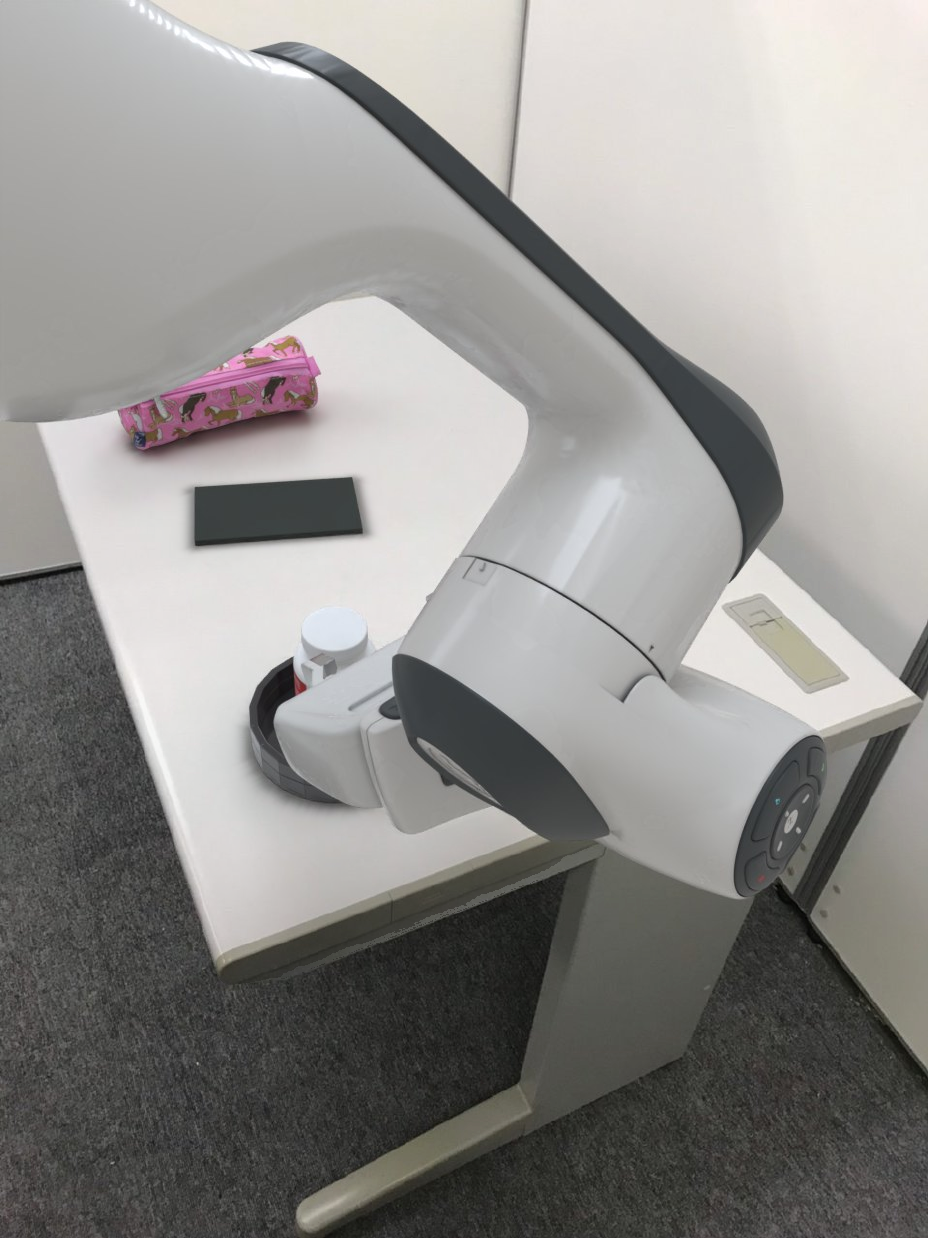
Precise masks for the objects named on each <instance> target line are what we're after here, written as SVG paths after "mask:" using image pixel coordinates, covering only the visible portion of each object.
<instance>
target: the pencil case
mask: <svg viewBox="0 0 928 1238" xmlns="http://www.w3.org/2000/svg"><path fill="white" fill-rule="evenodd" d="M320 375H322V372H321V369H320V368H319V366H318V364H317V362H316V360H315V357H314V355H311V356H308V355H307V352H306V350H305V347H304V345H303V343H302V341H301V340H300V338H299V337H298V336H295V335H289V334H288V335H286V336H283V337H279V338H276V339H274V340H270V341H269V342H267V343H266V344H265V345H263V346H262V347H251V348H249V349H247V350H246V351H244V352H242V353H241V354H239V355H237V356H236V357H234V358H232V359H231V360H229V361H228V362H226V363H224V364H223V365H221V366H219V367H217V368H216V369H214V370H212V371H210V372H209V373H207V374H205V375H203V376H201V377H199V378H197V379H195V380H193V381H191V382H189V383H187V384H185V385H183V386H181V387H179V388H176V389H174V390H172V391H170V392H167V393H165V394H162V395H160V396H157V397H155V398H152V399H150V400H147V401H144V402H142V403H139V404H136V405H133V406H130V407H127V408H123V409H120V410H116V411H117V414H118V417H119V421H120V423H121V425H122V427H123V429H124V430H125V432H126V433H127V435H128V436H129V437H130V439H131V440H132V442H131V444H132V445H133V446H134V447H135V448H137V449H138V450H140V451H145V450H147V449H150V448H151V447H158V446H163V445H165V444H168V443H171V442H174V441H176V440H179V439H183V438H187V437H189V436H190V435H192V434H194V433H196V432H202V431H208V430H211V429H216V428H220V427H222V426H226V425H229V424H232V423H235V422H240V421H243V420H249V419H251V418H259V417H266V416H270V415H276V414H279V413H284V412H290V411H307V410H310V409H313V408H314V407H316V406H317V404H318V401H319V389H318V388H319V387H318V383H317V379H316V378H317V377H318V376H320Z"/></svg>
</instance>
